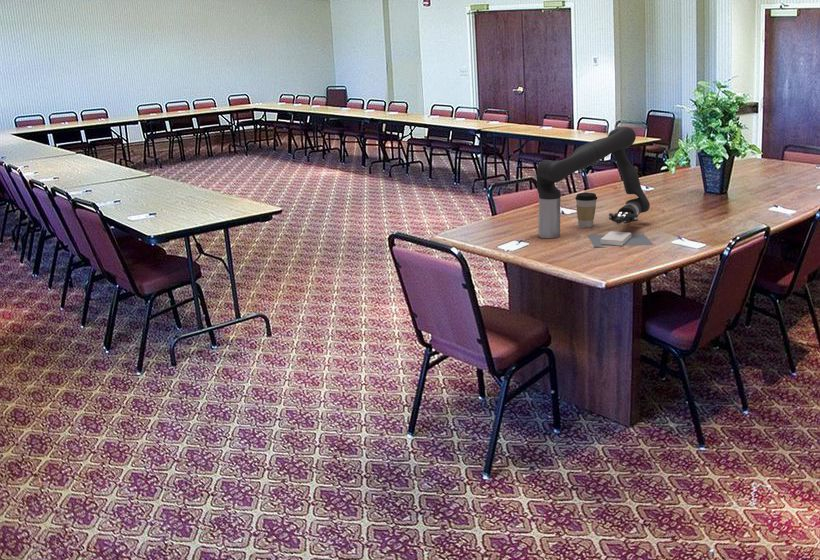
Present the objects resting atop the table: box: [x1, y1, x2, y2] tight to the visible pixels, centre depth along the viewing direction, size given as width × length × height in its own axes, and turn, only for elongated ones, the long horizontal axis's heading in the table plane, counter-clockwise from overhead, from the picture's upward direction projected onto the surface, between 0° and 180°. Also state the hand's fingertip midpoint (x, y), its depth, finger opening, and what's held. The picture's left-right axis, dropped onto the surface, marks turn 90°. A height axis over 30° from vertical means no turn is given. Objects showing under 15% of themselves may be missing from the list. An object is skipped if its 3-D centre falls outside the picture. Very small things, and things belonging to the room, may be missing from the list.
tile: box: [600, 230, 632, 247], centre depth 325 cm, size 2×9×15 cm
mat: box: [587, 232, 655, 249], centre depth 327 cm, size 24×20×1 cm
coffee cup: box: [574, 192, 598, 229], centre depth 353 cm, size 10×10×15 cm
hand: (618, 221), depth 325 cm, fingers closed
